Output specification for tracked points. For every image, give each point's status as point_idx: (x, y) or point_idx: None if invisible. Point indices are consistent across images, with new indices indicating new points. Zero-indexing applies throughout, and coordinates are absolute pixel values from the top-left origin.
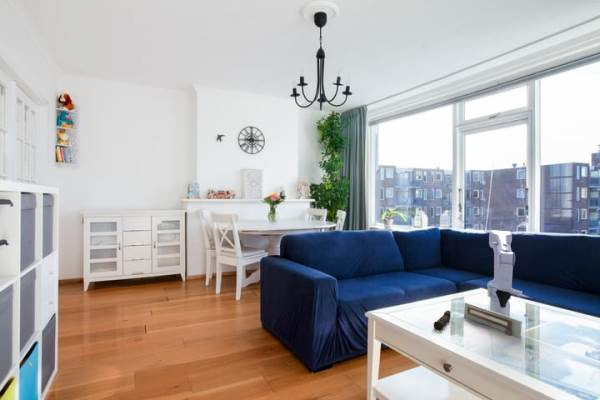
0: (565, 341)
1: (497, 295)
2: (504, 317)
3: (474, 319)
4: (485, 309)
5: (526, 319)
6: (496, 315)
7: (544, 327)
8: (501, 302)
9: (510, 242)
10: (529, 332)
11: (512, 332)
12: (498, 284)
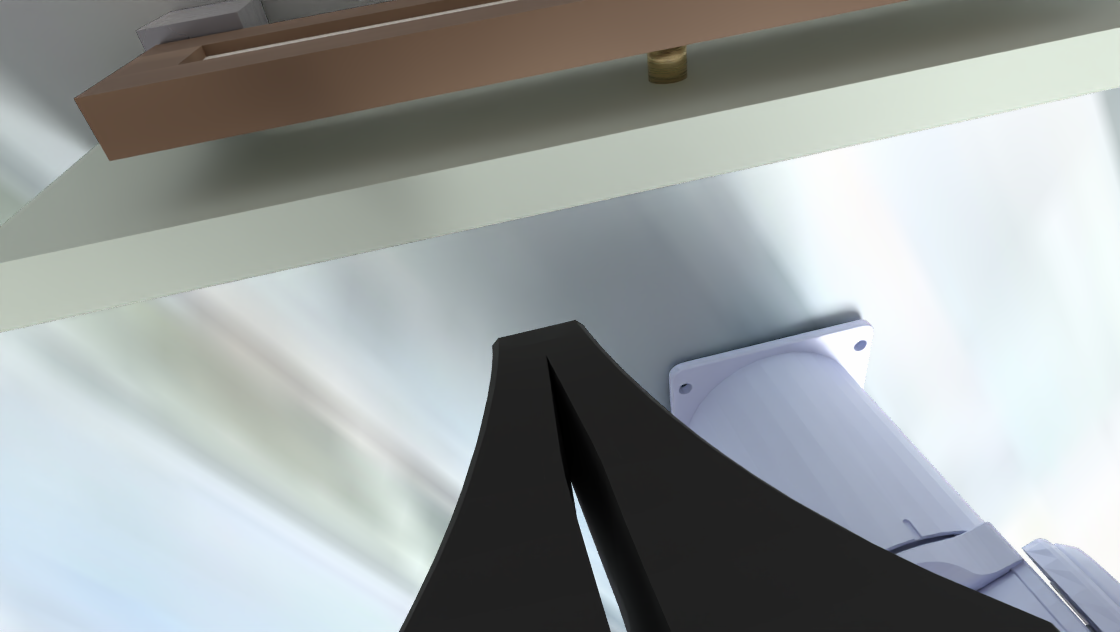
0: (9, 583)
1: (835, 552)
2: (360, 172)
3: None
4: (842, 85)
5: None
6: (492, 52)
7: (394, 625)
8: (575, 421)
9: None
10: (288, 416)
11: None
12: None
